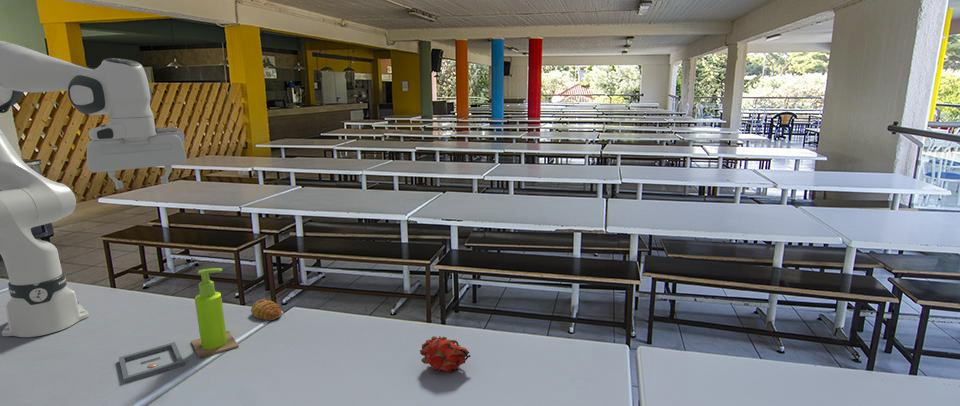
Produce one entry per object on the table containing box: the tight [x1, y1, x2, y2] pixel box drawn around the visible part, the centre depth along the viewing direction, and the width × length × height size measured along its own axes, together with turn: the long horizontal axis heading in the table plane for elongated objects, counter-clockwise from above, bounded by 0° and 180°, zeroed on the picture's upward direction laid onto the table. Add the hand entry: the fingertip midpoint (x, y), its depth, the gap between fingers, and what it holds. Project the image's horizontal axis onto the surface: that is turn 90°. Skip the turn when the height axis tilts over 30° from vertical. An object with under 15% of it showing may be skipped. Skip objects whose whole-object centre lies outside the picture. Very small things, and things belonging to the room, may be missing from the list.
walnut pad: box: [190, 330, 239, 359], centre depth 136 cm, size 10×9×1 cm
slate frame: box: [118, 341, 185, 384], centre depth 127 cm, size 12×12×1 cm
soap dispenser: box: [194, 267, 227, 349], centre depth 133 cm, size 6×7×20 cm
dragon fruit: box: [419, 335, 471, 374], centre depth 123 cm, size 8×8×12 cm
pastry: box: [250, 299, 283, 321], centre depth 152 cm, size 9×7×4 cm
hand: (142, 186), depth 129 cm, fingers open, 8 cm apart
